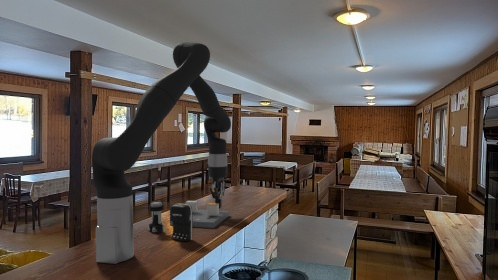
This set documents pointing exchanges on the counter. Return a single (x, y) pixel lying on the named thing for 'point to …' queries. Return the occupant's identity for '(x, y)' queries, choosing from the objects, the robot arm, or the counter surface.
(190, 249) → the counter surface
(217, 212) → the handle
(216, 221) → the breaker board
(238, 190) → the counter surface
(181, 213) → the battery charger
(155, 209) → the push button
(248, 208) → the counter surface
